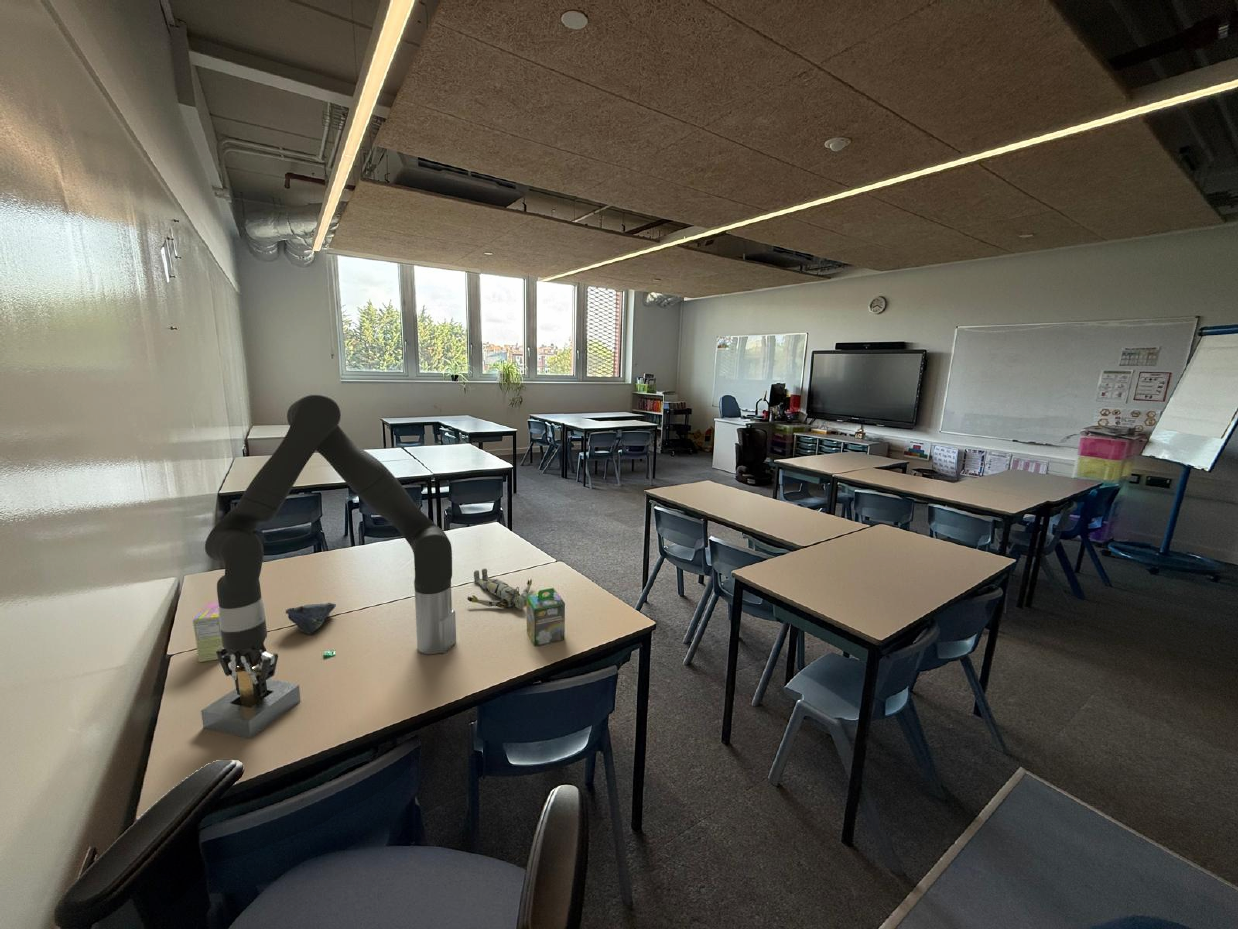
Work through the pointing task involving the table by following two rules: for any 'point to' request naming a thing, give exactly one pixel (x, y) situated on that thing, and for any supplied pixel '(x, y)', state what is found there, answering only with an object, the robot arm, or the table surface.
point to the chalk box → (545, 617)
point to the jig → (250, 710)
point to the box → (208, 632)
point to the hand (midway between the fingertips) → (252, 694)
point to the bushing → (247, 688)
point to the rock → (310, 616)
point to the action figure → (500, 592)
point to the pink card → (329, 653)
